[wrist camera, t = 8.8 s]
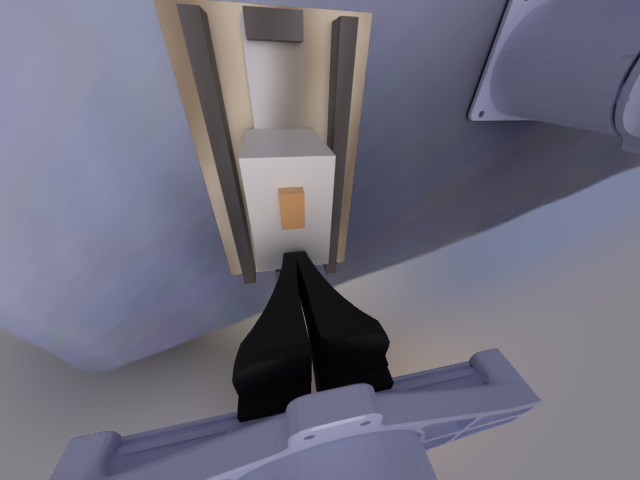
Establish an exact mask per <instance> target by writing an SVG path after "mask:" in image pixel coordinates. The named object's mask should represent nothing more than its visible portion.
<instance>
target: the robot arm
mask: <svg viewBox="0 0 640 480" xmlns="http://www.w3.org/2000/svg"><path fill="white" fill-rule="evenodd" d="M480 112H481V114H480V116H479V113H480ZM468 119H469V120H473V121H503V120H536V121H542V122H547V123H552V124H558V125H563V126H568V127H574V128H579V129H584V130H590V131H595V132H600V133H606V134H611V135H616V136H622V137H623V145H622V150H625V151H630V152H634V153H639V154H640V0H509V2H508V5H507V8H506V11H505V14H504V16H503V19H502V22H501V25H500V27H499V30H498V33H497V36H496V38H495V41H494V44H493V47H492V50H491V52H490V55H489V58H488V61H487V63H486V66H485V69H484V72H483V75H482V77H481V80H480V83H479V86H478V88H477V91H476V94H475V97H474V100H473V102H472V105H471V108H470V111H469V113H468ZM301 305H302V306H301ZM302 308H303V311H302ZM303 312H304V316H305V320H306V325H307V329H306V325H305V321H304V316H303ZM307 330H308V334H307ZM308 336H309V338H308ZM389 343H390V342H389V339H388V337H387V334H386V332H385V331H384V329H383V328H382V326H381V325H380V323H379V322H378V320H376V319H374V318H372V317H371V316H369V315H367V314H366V313H364V312H362V311H361V310H359V309H358V308H356V307H355V306H354V305H353V304H351V303H350V302H349V301H347V300H346V299H345V298H344V297H343V296H341V295H340V294H339V293H338V292H337V291H336V290H335V289H334V288H333V287H332V286H331V285H330V284H329V283H328V282H327V281H326V279H325V278H324V277H323V276H322V275H321V273H320V272H319V271H318V270H317V268H316V267H315V265H314V264H313V263H312V261H311V259H310V258H309V256H308V254H307V252H306V251H297V252H288V253H284V254H283V262H282V267H281V271H280V274H279V278H278V281H277V283H276V286H275V289H274V291H273V294H272V296H271V298H270V300H269V302H268V304H267V306H266V308H265V309H264V311H263V313H262V315H261V316H260V318H259V319H258V321H257V322H256V324H255V325H254V327H253V328H252V330H251V331H250V332H249V334H248V335H247V336H246V338H245V339H244V340H243V341H242V343H241V344H240V347H239V350H238V353H237V356H236V359H235V363H234V368H233V379H232V381H233V385H234V387H235V390H236V392H237V394H238V396H239V399H238V411H237V412H233V413H229V414H224V415H219V416H215V417H211V418H206V419H201V420H197V421H192V422H187V423H183V424H178V425H173V426H169V427H165V428H160V429H155V430H150V431H146V432H141V433H137V434H132V435H128V436H123V437H121V436H120V435H119V434H118V433H117V432H114V431H104V432H99V433H94V434H89V435H85V436H80V437H75V438H73V439H71V440H70V442H69V443H68V445H67V447H66V449H65V451H64V453H63V455H62V457H61V459H60V461H59V463H58V465H57V466H56V468H55V470H54V473H53V474H52V476H51V478H50V480H438V479H437V477H436V475H435V472H434V470H433V468H432V465H431V463H430V461H429V458H428V456H427V454H426V451H427V450H430V449H433V448H436V447H439V446H441V445H444V444H447V443H450V442H453V441H456V440H459V439H462V438H464V437H467V436H470V435H473V434H476V433H479V432H482V431H485V430H488V429H491V428H495V427H498V426H501V425H505V424H508V423H512V422H514V421H515V420H517V419H519V418H520V417H522V416H523V415H525V414H526V413H528V412H529V411H531V410H532V409H534V408H536V407H537V406H539V405H540V404H542V401H541V399H540V398H539V397H538V396H537V395H536V394H535V392H534V391H533V390H532V389H531V387H530V386H529V385H528V384H527V383H526V381H525V380H524V379H523V378H522V377H521V376H520V374H519V373H518V372H517V371H516V370H515V368H514V367H513V366H512V365H511V364H510V362H509V361H508V360H507V359H506V358H505V357H504V356H503V354H502V353H501V352H500V351H499V349H496V348H495V349H490V350H486V351H481V352H478V353H476V354H474V355H473V356H472V357H471V358H470V360H469V361H467V362H463V363H458V364H454V365H449V366H444V367H440V368H435V369H431V370H426V371H421V372H417V373H412V374H407V375H403V376H398V377H394V378H392V377H391V375H390V372H389V370H388V367H387V366H388V362H387V359H386V357H385V355H386V352H387V350H388V347H389ZM312 363H313V370H314V376H315V384H316V390H317V392H316V393H311V382H312V376H311V375H312Z"/></svg>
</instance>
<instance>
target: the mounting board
mask: <svg viewBox="0 0 640 480" xmlns="http://www.w3.org/2000/svg"><path fill="white" fill-rule="evenodd" d="M153 1H154V4H155V8H156V11H157V15H158V18H159V22H160V25H161V29H162V32H163V36H164V39H165V43H166V46H167V50H168V53H169V57H170V60H171V64H172V67H173V71H174V74H175V78H176V81H177V85H178V88H179V92H180V95H181V99H182V102H183V106H184V109H185V113H186V116H187V120H188V123H189V127H190V130H191V134H192V137H193V141H194V144H195V148H196V152H197V155H198V159H199V162H200V166H201V169H202V173H203V176H204V180H205V183H206V187H207V190H208V194H209V197H210V201H211V204H212V208H213V211H214V215H215V218H216V222H217V225H218V229H219V232H220V236H221V239H222V243H223V246H224V250H225V253H226V257H227V260H228V264H229V267H230V271H231V274H232V275H236V274H242V275H243V279H244V283H245V284H249V283H256V272H262V271H259V270H258V265H257V259H256V253H255V248H254V242H253V237H252V231H251V225H250V220H249V214H248V209H247V203H246V197H245V192H244V186H243V181H242V175H241V169H240V164H239V155H240V151H241V148H242V144H243V140H244V137H245V133H246V129H293V128H313V129H314V131H315V132H316V133H317V134H318V135H319V136H320V138H321V139H322V140H323V141H324V142H325V144H326V145H327V146H328V147H329V148H330V149H331V151H332V152H333V153H334V154H335V155H336V159H335V173H334V188H333V203H332V218H331V233H330V248H329V262H328V264H323V265H324V268H325V272H326V274H329V273H336V264H337V263H338V262H344V257H345V248H346V240H347V231H348V222H349V213H350V205H351V196H352V187H353V179H354V170H355V161H356V153H357V144H358V135H359V127H360V118H361V109H362V100H363V92H364V83H365V74H366V66H367V57H368V48H369V40H370V31H371V22H372V13H364V12H351V11H338V10H325V9H312V8H299V7H287V6H274V5H261V4H248V3H235V2H222V1H209V0H153ZM320 265H321V264H320ZM268 271H270V270H268ZM280 271H281V269H277V270H273V272H276V280H277V281H278V278H279V274H280Z"/></svg>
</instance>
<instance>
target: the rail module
mask: <svg viewBox="0 0 640 480" xmlns="http://www.w3.org/2000/svg"><path fill="white" fill-rule="evenodd" d="M335 159H336V155H335V154H334V153H333V152H332V151H331V149H330V148H329V147H328V146H327V145H326V144H325V142H324V141H323V140H322V139H321V138H320V136H319V135H318V134H317V133H316V132H315V131H314V129H313V128H293V129H246V133H245V137H244V140H243V144H242V148H241V151H240V155H239V164H240V169H241V175H242V181H243V186H244V192H245V197H246V203H247V209H248V214H249V220H250V225H251V231H252V237H253V242H254V248H255V253H256V259H257V265H258V270H259V271H268V270H277V269H281V267H282V262H283V254H284V253H288V252H297V251H306V252H307V254H308V256H309V258H310V259H311V261H312V263H313V264H314V265H320V264H328V262H329V248H330V233H331V218H332V203H333V188H334V173H335Z"/></svg>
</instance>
